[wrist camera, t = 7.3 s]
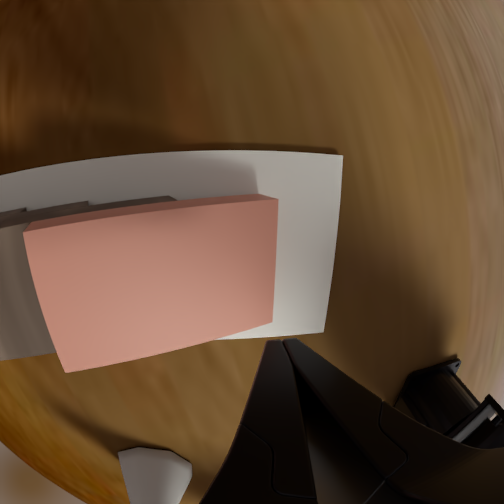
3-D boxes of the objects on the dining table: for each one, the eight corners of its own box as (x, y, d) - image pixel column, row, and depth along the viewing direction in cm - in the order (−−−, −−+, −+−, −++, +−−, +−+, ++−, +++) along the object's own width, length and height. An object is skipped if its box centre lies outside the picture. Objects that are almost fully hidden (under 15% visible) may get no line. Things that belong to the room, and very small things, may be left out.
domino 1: (177, 200, 12) (-42, 238, 7) (187, 325, 14) (0, 360, 9) (168, 195, 13) (-29, 228, 8) (177, 309, 15) (5, 341, 10)
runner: (339, 155, 14) (342, 155, 13) (321, 328, 17) (323, 332, 17) (-30, 183, 11) (-34, 184, 11) (3, 323, 14) (0, 326, 14)
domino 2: (278, 199, 12) (22, 232, 7) (272, 322, 14) (65, 372, 9) (258, 193, 13) (31, 222, 9) (255, 307, 15) (65, 350, 11)
